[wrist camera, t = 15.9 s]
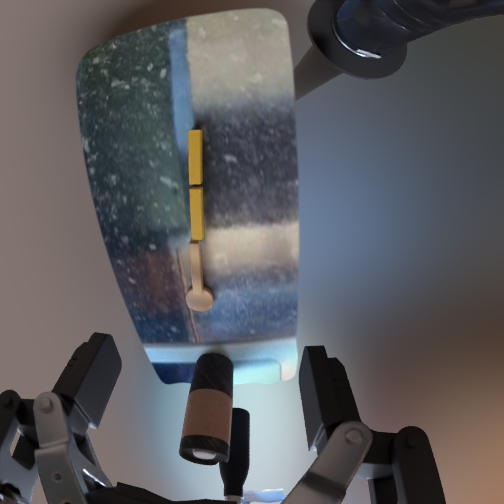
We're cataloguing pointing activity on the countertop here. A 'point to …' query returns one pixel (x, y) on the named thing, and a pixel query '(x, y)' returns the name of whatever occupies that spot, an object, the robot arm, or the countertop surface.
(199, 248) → the spoon
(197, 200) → the bar
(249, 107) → the countertop surface
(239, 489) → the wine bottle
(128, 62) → the countertop surface
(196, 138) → the bar
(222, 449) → the travel mug
